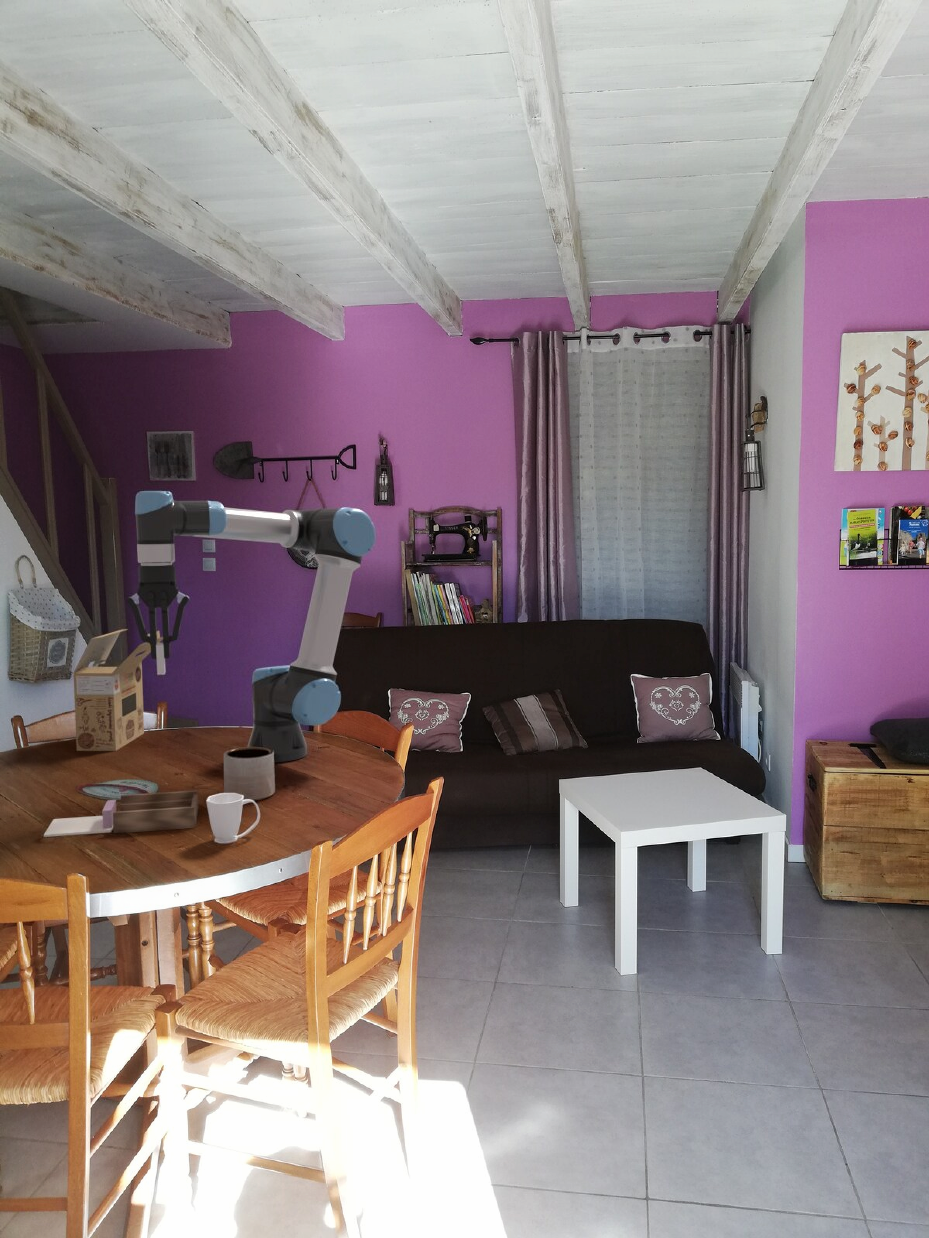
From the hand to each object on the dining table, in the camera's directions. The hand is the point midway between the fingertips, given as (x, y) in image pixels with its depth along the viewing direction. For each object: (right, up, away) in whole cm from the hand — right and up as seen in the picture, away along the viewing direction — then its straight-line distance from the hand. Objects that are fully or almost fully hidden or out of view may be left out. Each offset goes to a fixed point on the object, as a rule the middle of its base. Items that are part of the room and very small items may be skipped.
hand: (161, 673), depth 198 cm
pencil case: (+4, -29, -14) cm, 32 cm away
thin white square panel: (-10, -29, -18) cm, 36 cm away
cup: (+22, -30, -24) cm, 44 cm away
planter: (+18, -27, +3) cm, 33 cm away
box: (-28, -22, +53) cm, 64 cm away
